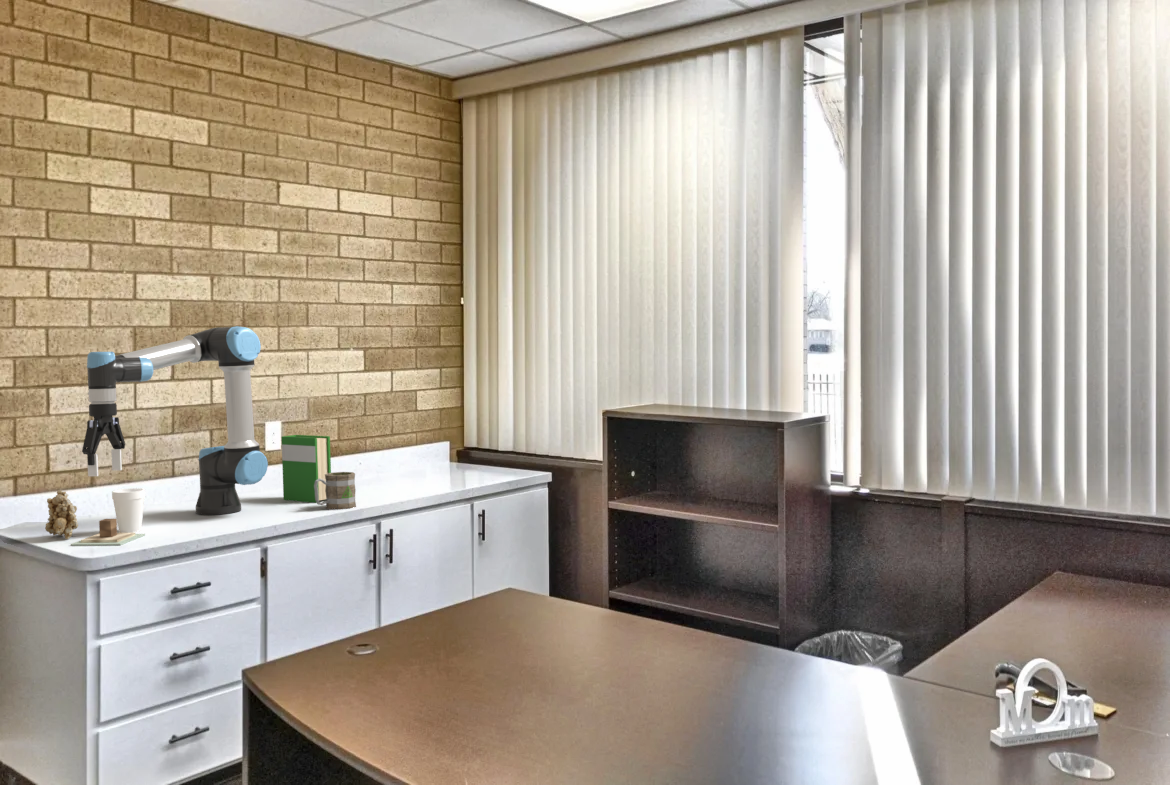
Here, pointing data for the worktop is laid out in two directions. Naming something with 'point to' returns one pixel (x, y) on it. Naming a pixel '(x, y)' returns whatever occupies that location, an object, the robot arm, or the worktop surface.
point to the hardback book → (305, 466)
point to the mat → (109, 542)
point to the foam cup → (129, 509)
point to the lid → (107, 533)
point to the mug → (338, 490)
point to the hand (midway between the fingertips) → (105, 473)
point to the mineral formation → (61, 515)
